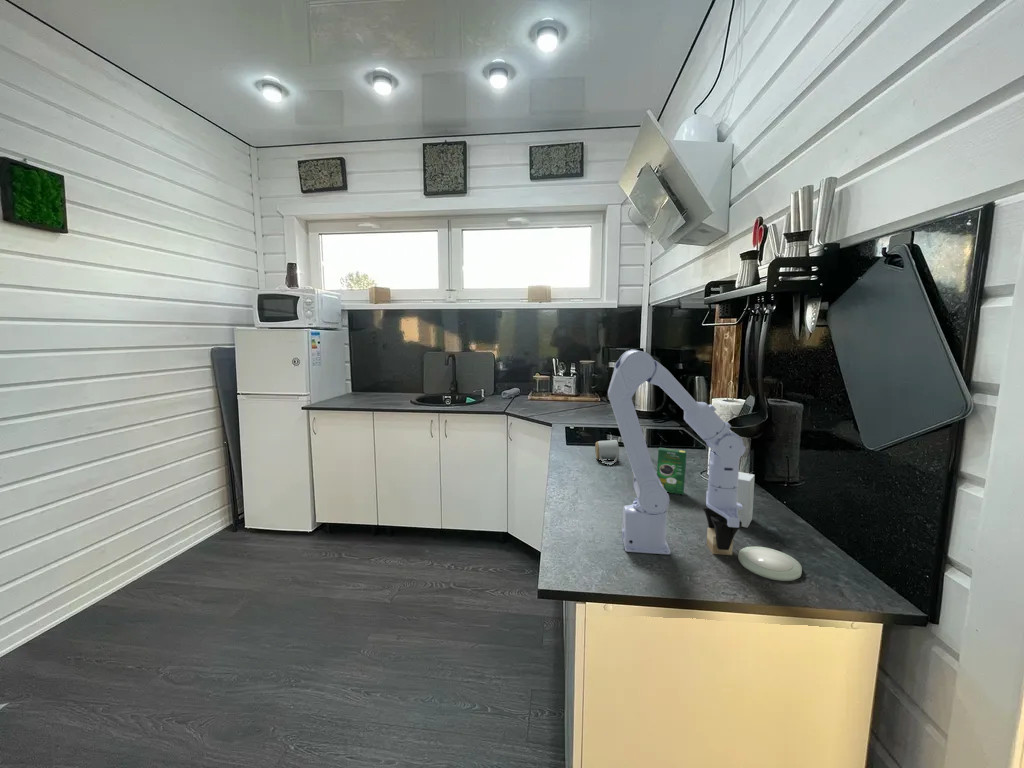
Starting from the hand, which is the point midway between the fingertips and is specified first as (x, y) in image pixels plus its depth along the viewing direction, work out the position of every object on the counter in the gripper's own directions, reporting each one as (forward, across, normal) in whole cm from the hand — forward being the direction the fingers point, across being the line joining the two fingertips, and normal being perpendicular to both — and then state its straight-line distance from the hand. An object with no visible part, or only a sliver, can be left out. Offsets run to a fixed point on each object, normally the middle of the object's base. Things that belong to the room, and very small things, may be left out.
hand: (719, 543), depth 90 cm
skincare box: (+2, +15, -10) cm, 18 cm away
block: (+1, 0, 0) cm, 1 cm away
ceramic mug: (+2, +61, +19) cm, 64 cm away
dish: (+1, -5, -8) cm, 10 cm away
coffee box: (+2, +33, +3) cm, 33 cm away
